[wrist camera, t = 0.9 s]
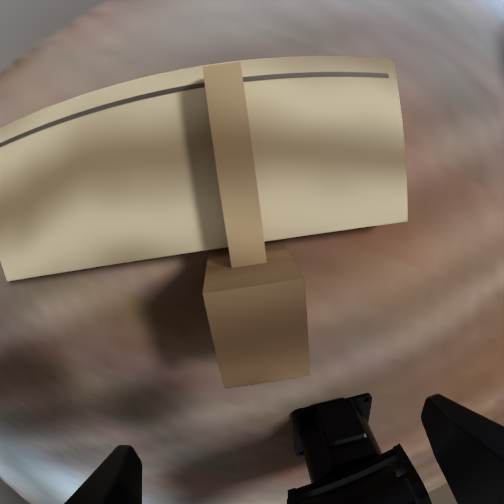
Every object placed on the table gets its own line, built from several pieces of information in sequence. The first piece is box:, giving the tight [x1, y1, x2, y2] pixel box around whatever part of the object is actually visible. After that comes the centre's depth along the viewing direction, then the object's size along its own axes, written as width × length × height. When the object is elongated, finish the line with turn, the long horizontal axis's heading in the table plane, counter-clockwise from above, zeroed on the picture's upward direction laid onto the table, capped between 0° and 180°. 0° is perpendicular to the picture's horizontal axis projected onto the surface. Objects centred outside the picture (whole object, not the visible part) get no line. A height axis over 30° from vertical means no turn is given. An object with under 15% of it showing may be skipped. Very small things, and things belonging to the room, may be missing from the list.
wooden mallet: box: [203, 62, 310, 388], centre depth 15 cm, size 14×4×6 cm, turn 7°
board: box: [0, 56, 407, 281], centre depth 15 cm, size 9×24×2 cm, turn 97°
